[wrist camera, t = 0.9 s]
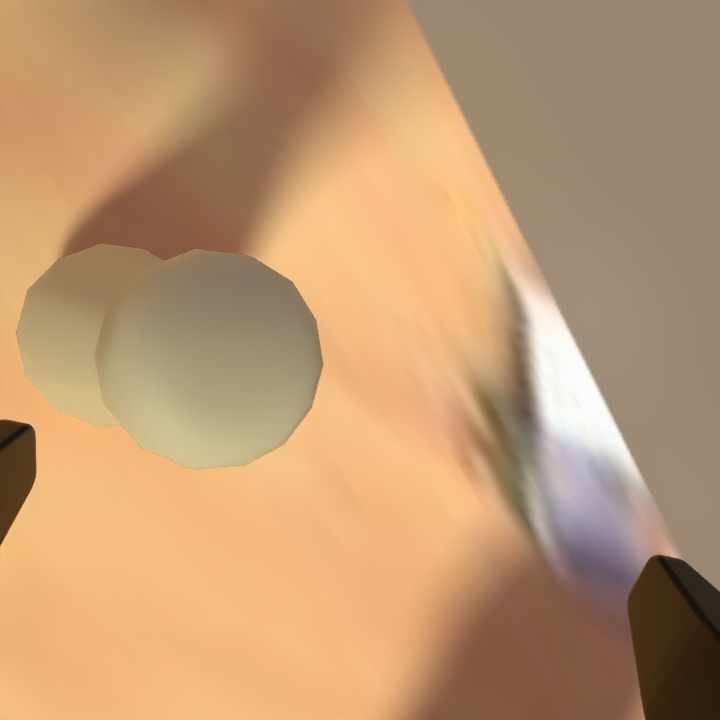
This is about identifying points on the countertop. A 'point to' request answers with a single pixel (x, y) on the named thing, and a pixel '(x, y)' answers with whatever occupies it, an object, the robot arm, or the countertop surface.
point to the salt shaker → (174, 350)
